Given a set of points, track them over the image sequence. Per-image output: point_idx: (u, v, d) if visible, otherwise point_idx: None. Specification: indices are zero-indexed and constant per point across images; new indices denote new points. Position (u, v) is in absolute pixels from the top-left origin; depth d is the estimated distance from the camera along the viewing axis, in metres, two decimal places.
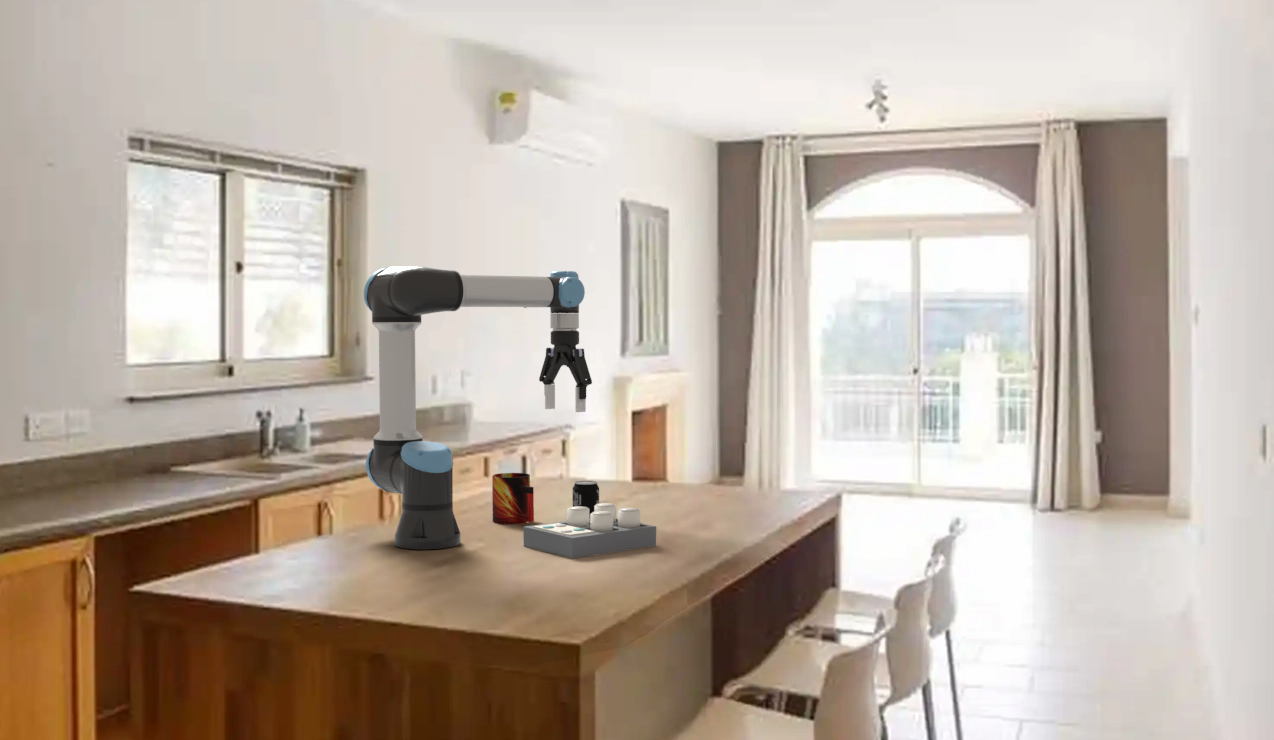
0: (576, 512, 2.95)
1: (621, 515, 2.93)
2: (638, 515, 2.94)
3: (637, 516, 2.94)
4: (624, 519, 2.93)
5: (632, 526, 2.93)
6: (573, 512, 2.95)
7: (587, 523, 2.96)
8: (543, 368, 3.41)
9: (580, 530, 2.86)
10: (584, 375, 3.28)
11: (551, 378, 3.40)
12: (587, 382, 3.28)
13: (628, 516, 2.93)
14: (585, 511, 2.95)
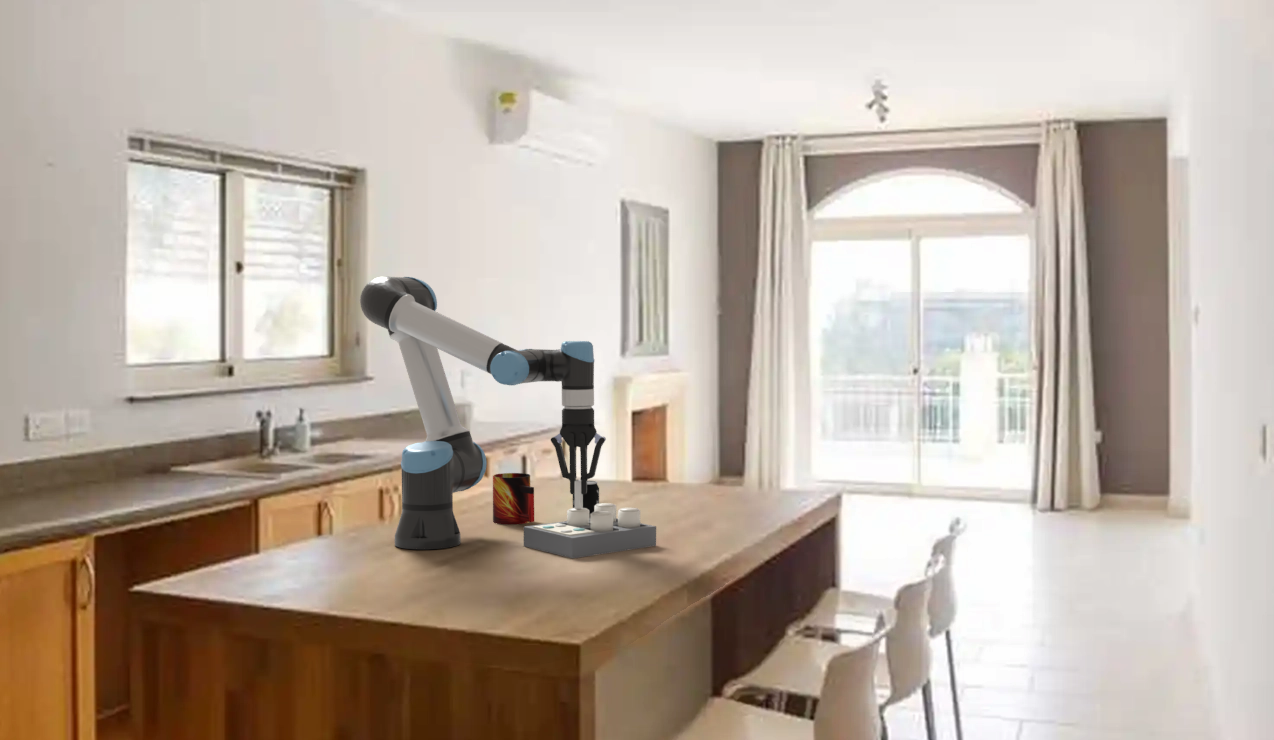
0: (576, 513, 2.95)
1: (621, 515, 2.93)
2: (638, 515, 2.94)
3: (637, 516, 2.94)
4: (624, 519, 2.93)
5: (632, 526, 2.93)
6: (573, 513, 2.95)
7: (587, 524, 2.96)
8: (561, 461, 2.96)
9: (580, 530, 2.86)
10: (595, 468, 2.96)
11: (575, 469, 2.97)
12: (593, 476, 2.96)
13: (628, 516, 2.93)
14: (585, 512, 2.95)
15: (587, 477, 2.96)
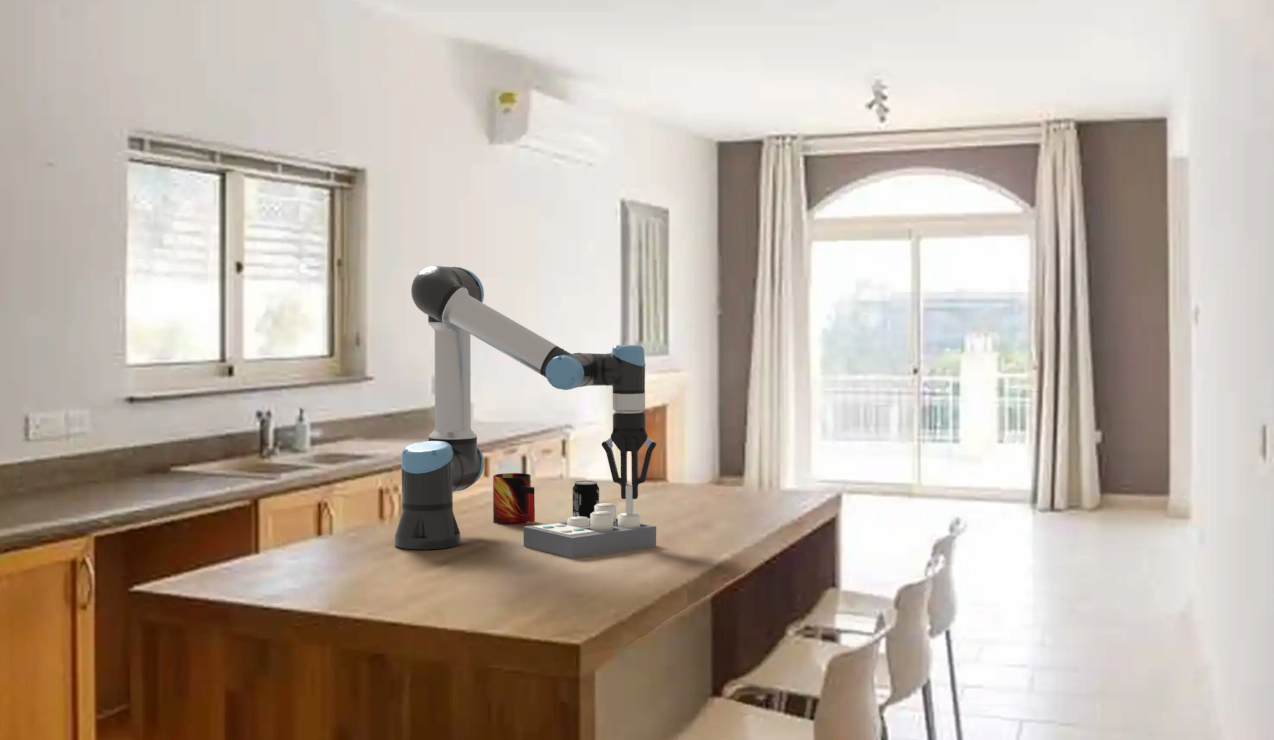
0: (576, 522, 2.95)
1: (621, 520, 2.93)
2: (638, 520, 2.94)
3: (637, 521, 2.94)
4: (624, 524, 2.93)
5: None
6: (573, 522, 2.95)
7: None
8: (612, 466, 2.94)
9: (580, 530, 2.86)
10: (646, 473, 2.94)
11: (626, 474, 2.95)
12: None
13: (628, 521, 2.93)
14: (585, 521, 2.95)
15: (638, 482, 2.94)
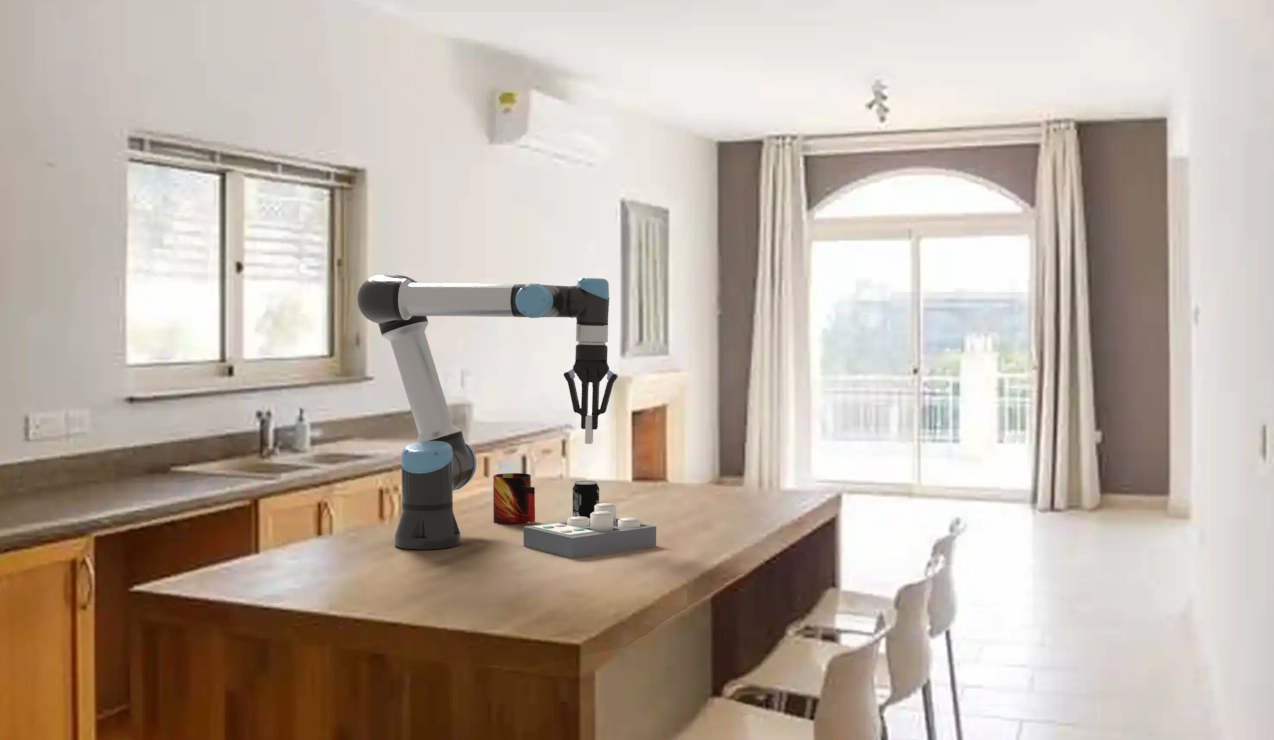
0: (576, 522, 2.95)
1: (621, 525, 2.93)
2: (638, 525, 2.94)
3: (637, 526, 2.94)
4: None
5: None
6: (573, 522, 2.95)
7: None
8: (573, 396, 3.00)
9: (580, 530, 2.86)
10: (606, 404, 3.00)
11: (587, 405, 3.01)
12: (604, 412, 3.00)
13: (628, 526, 2.93)
14: (585, 521, 2.95)
15: (598, 413, 3.00)
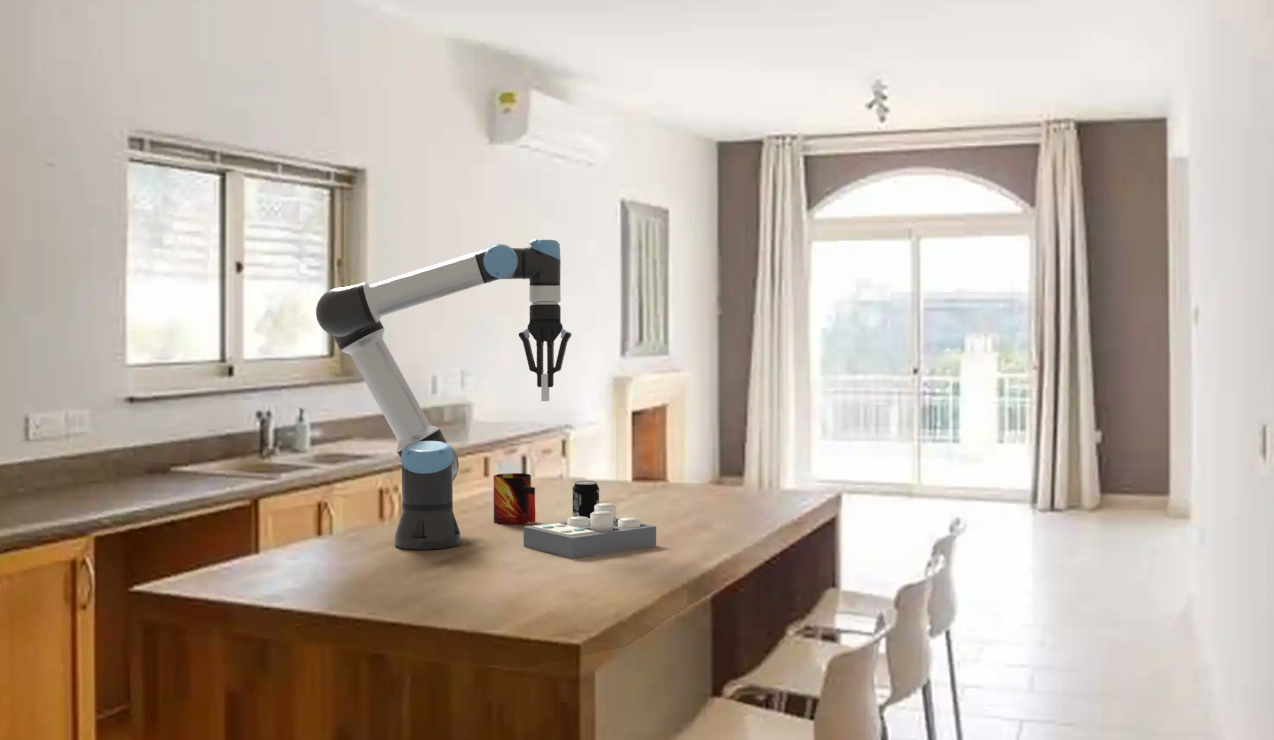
0: (576, 522, 2.95)
1: (621, 525, 2.93)
2: (638, 525, 2.94)
3: (637, 526, 2.94)
4: None
5: None
6: (573, 522, 2.95)
7: None
8: (528, 355, 3.08)
9: (580, 530, 2.86)
10: (561, 362, 3.08)
11: (542, 363, 3.09)
12: (559, 370, 3.09)
13: (628, 526, 2.93)
14: (585, 521, 2.95)
15: (553, 370, 3.08)
